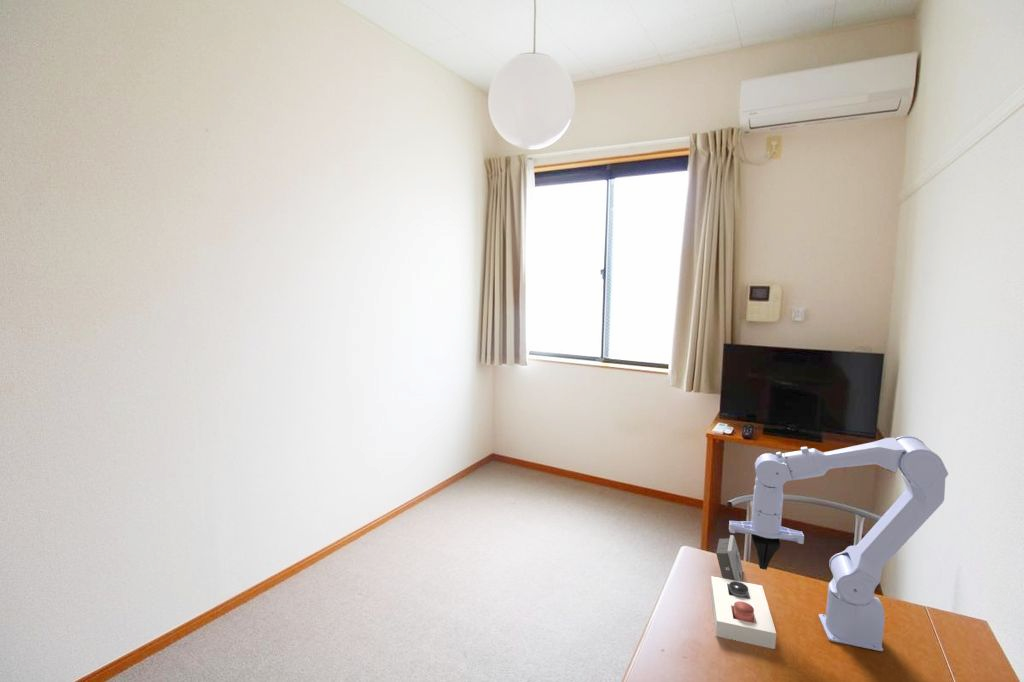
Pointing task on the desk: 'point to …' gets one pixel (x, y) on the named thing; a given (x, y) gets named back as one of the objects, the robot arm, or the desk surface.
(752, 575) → the desk surface
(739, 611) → the red plug
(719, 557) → the electrical switch
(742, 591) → the graphite plug
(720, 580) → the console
